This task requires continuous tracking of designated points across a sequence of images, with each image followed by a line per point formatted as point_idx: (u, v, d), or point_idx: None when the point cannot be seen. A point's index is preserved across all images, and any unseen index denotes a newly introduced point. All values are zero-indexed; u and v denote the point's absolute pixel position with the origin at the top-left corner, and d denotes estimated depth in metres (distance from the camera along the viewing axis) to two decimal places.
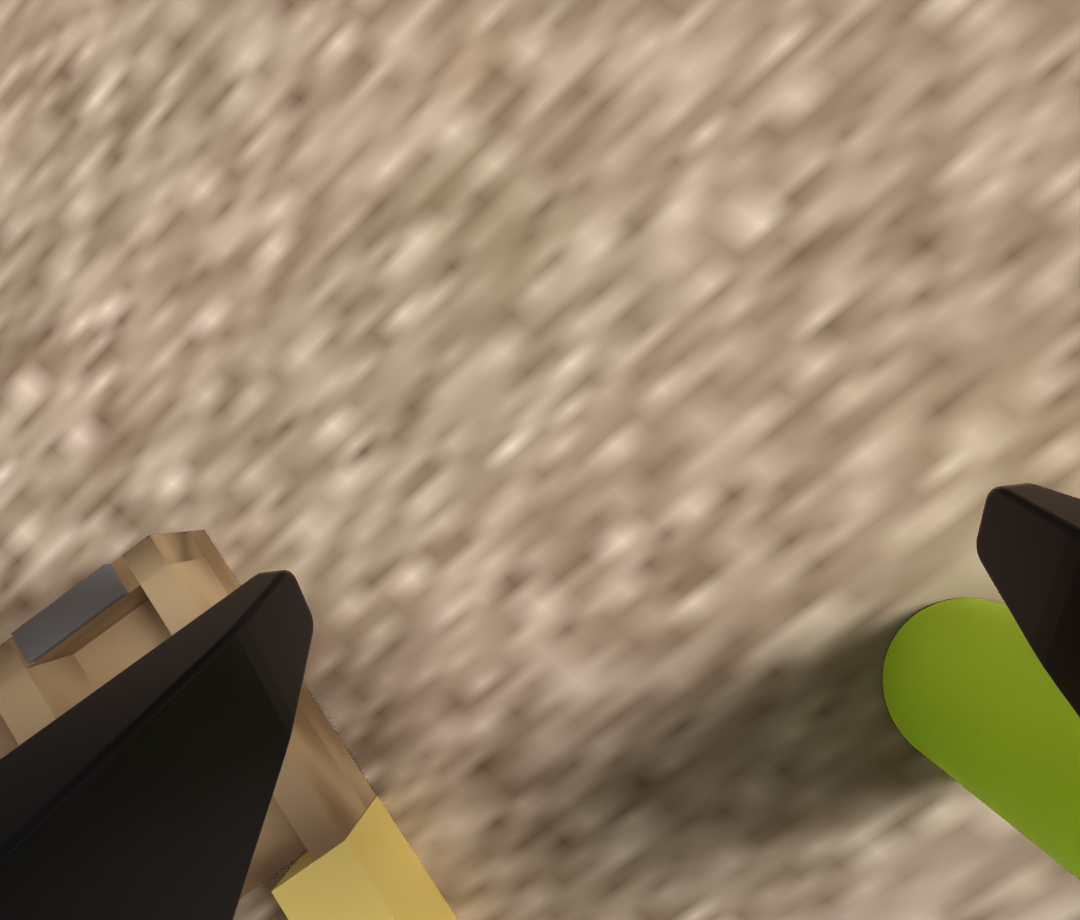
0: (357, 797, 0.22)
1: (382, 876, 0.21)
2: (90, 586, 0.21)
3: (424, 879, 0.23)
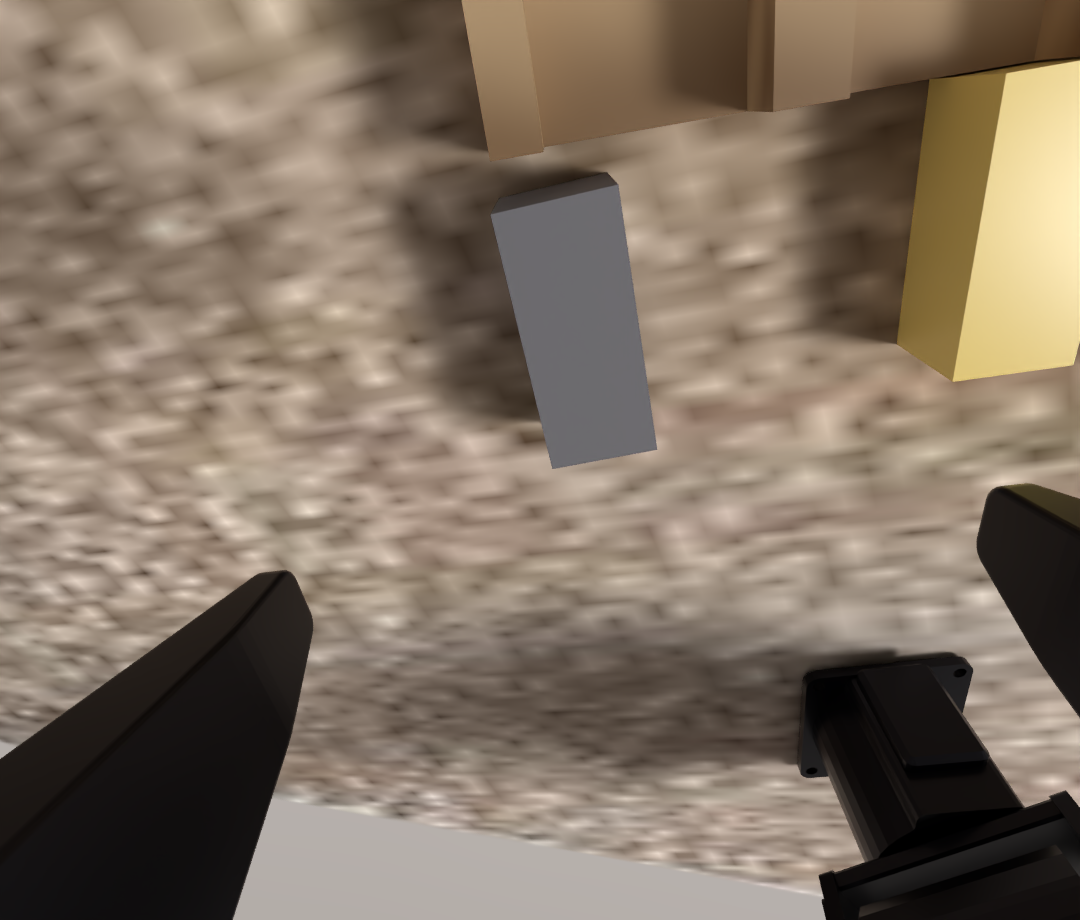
0: None
1: None
2: None
3: None
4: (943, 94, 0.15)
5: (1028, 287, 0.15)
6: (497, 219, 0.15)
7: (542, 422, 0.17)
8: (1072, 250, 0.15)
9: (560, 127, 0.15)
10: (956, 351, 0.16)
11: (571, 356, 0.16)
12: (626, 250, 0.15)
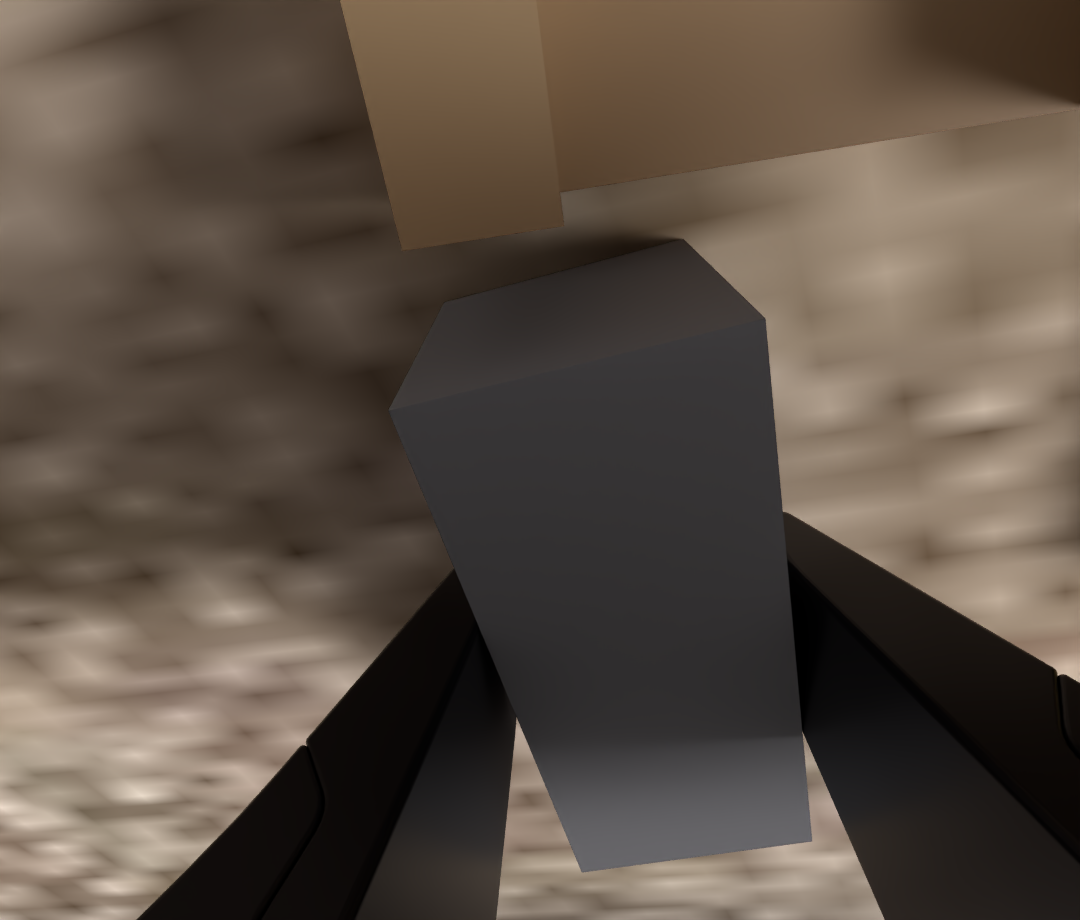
0: None
1: None
2: None
3: None
4: None
5: None
6: (410, 421, 0.05)
7: (557, 807, 0.08)
8: None
9: (602, 144, 0.06)
10: None
11: (622, 698, 0.07)
12: (775, 481, 0.05)
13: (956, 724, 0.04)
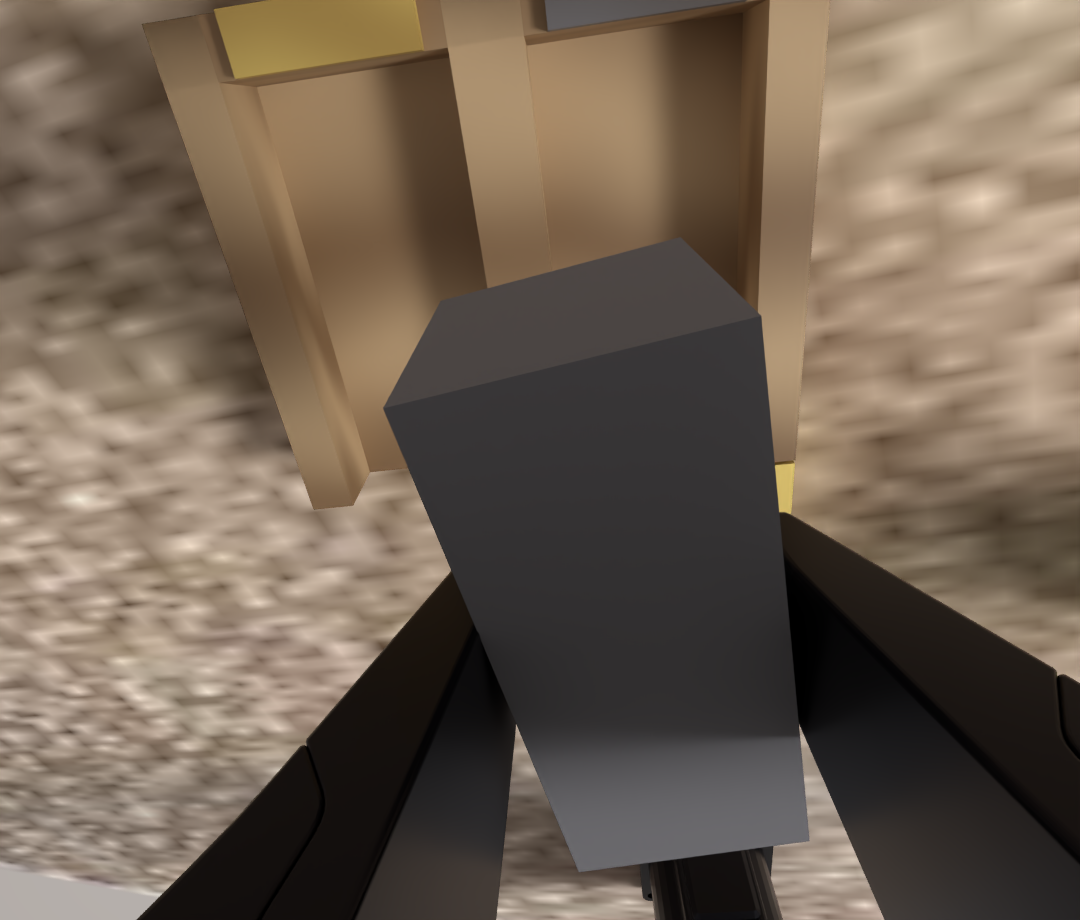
0: None
1: None
2: None
3: None
4: None
5: None
6: (405, 419, 0.05)
7: (554, 807, 0.08)
8: None
9: (381, 460, 0.20)
10: None
11: (618, 698, 0.07)
12: (771, 479, 0.05)
13: (956, 724, 0.04)
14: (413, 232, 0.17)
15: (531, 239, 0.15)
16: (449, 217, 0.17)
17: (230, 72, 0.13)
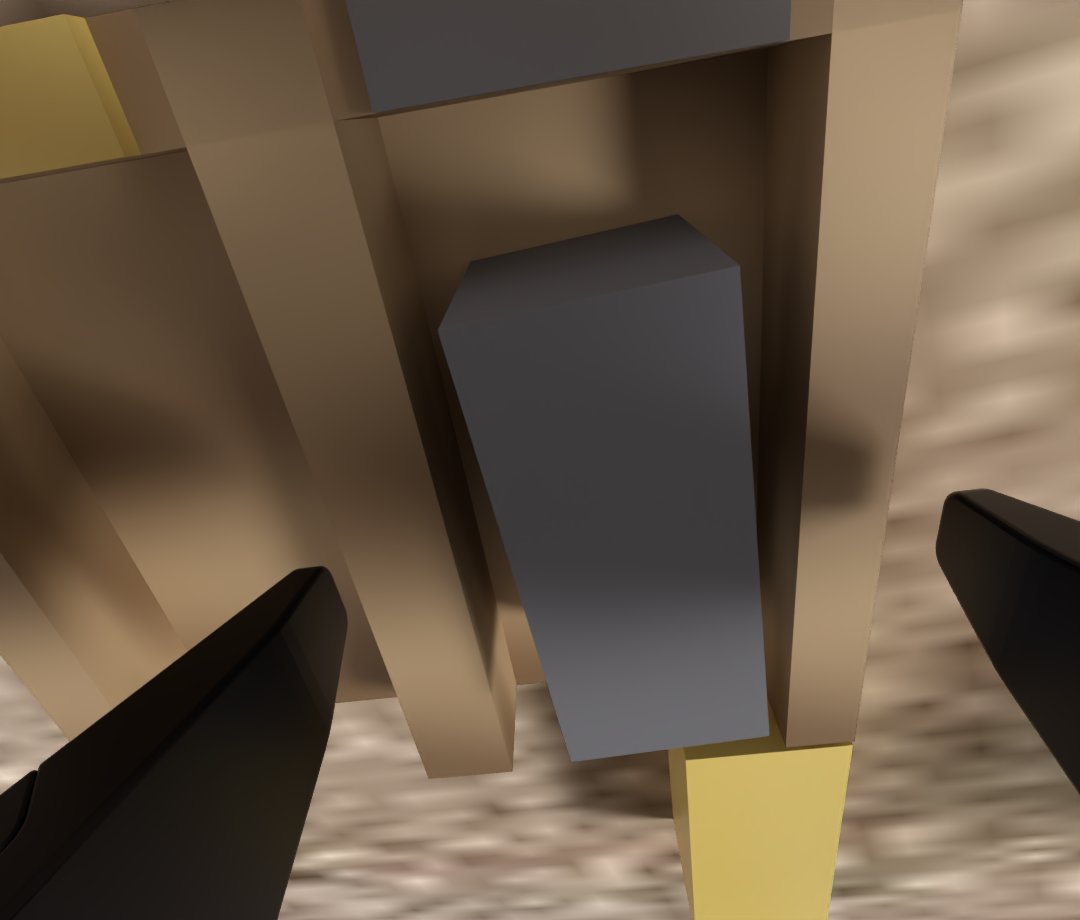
0: None
1: None
2: None
3: None
4: None
5: (759, 889, 0.14)
6: (454, 341, 0.06)
7: (553, 697, 0.09)
8: (800, 866, 0.13)
9: None
10: None
11: (612, 595, 0.08)
12: (744, 403, 0.07)
13: None
14: (230, 411, 0.10)
15: (398, 461, 0.08)
16: None
17: None
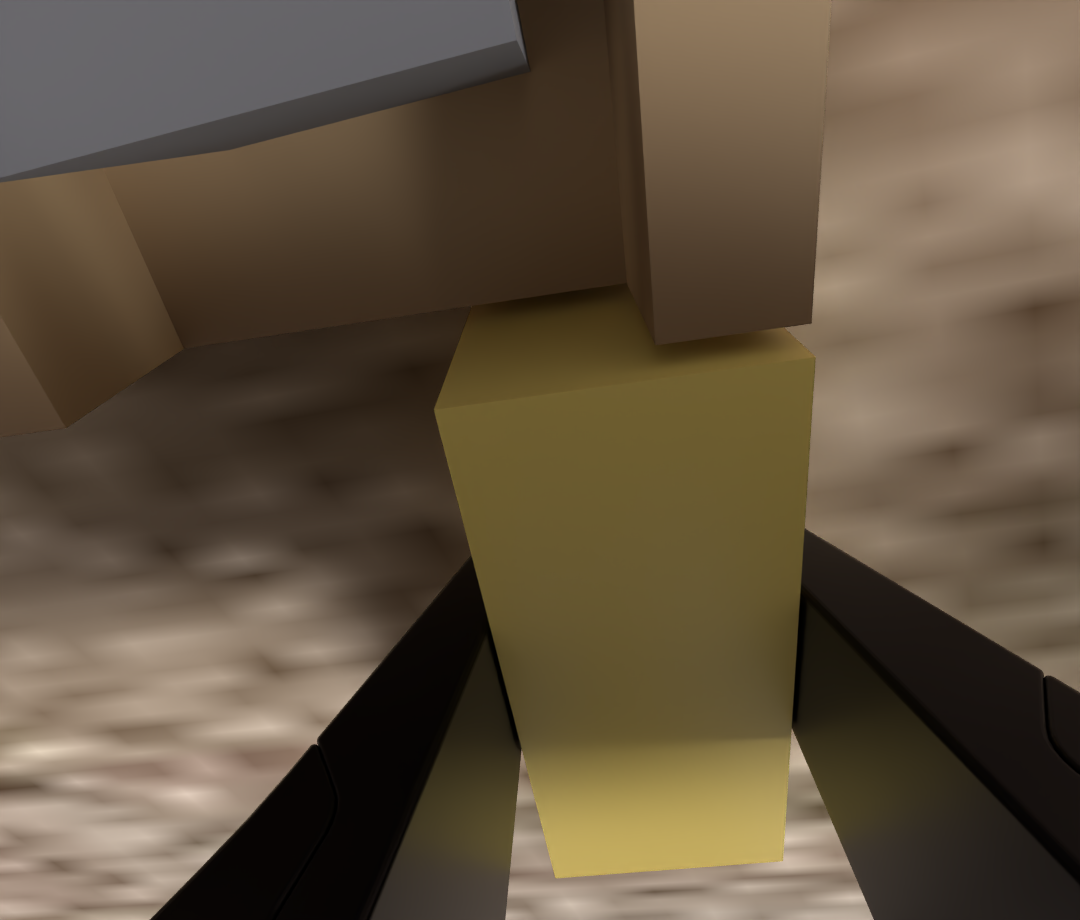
0: None
1: None
2: None
3: None
4: None
5: (651, 763, 0.07)
6: None
7: None
8: (724, 710, 0.07)
9: None
10: None
11: None
12: None
13: (942, 726, 0.04)
14: None
15: None
16: None
17: None
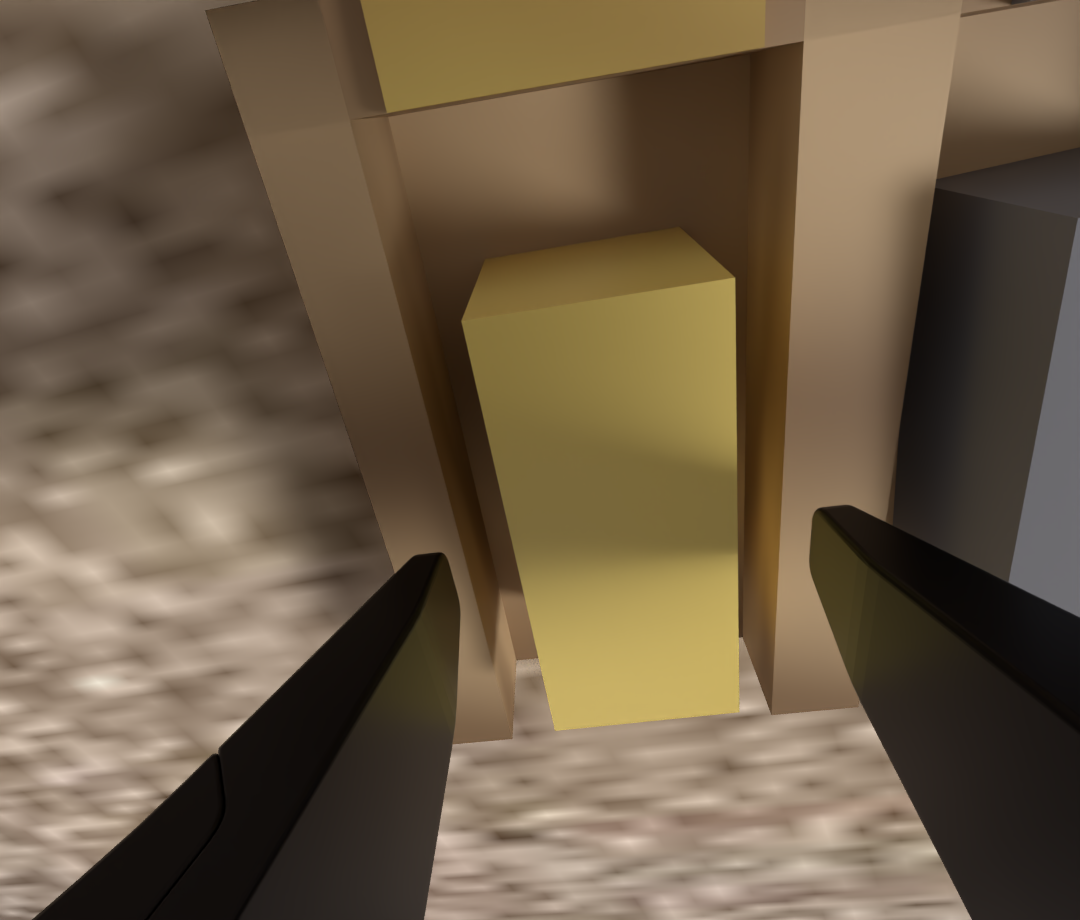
0: None
1: None
2: None
3: None
4: None
5: (629, 619, 0.09)
6: None
7: None
8: (684, 572, 0.09)
9: (534, 646, 0.14)
10: None
11: None
12: None
13: (1072, 714, 0.04)
14: None
15: (879, 374, 0.09)
16: None
17: (372, 99, 0.07)
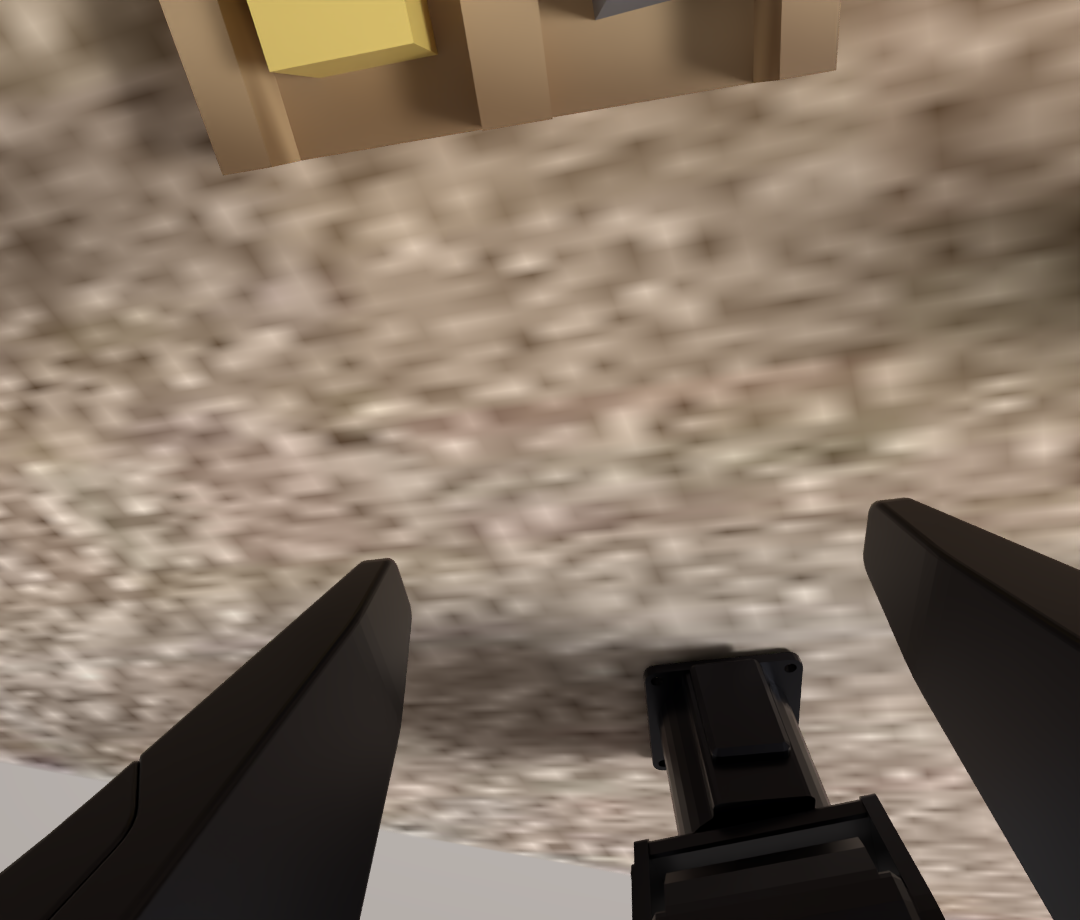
0: None
1: None
2: None
3: None
4: None
5: None
6: None
7: None
8: None
9: (313, 142, 0.16)
10: (258, 25, 0.12)
11: None
12: None
13: None
14: None
15: None
16: None
17: None
